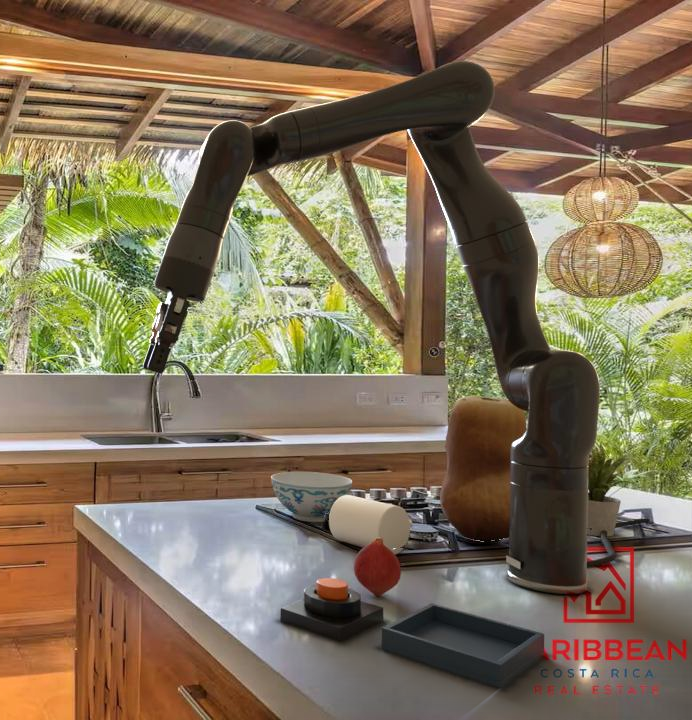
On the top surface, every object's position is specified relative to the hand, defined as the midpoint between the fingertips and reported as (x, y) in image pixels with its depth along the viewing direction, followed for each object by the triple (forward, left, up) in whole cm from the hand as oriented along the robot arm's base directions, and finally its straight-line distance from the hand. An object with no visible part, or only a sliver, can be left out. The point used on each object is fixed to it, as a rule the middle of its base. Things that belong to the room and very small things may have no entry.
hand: (151, 370), depth 104 cm
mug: (-43, +11, -31) cm, 54 cm away
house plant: (-81, +33, -31) cm, 92 cm away
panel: (-7, +24, -30) cm, 39 cm away
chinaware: (-52, -7, -31) cm, 60 cm away
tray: (-10, +38, -30) cm, 50 cm away
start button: (-7, +24, -27) cm, 37 cm away
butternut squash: (-59, +21, -31) cm, 70 cm away
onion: (-20, +23, -31) cm, 43 cm away
